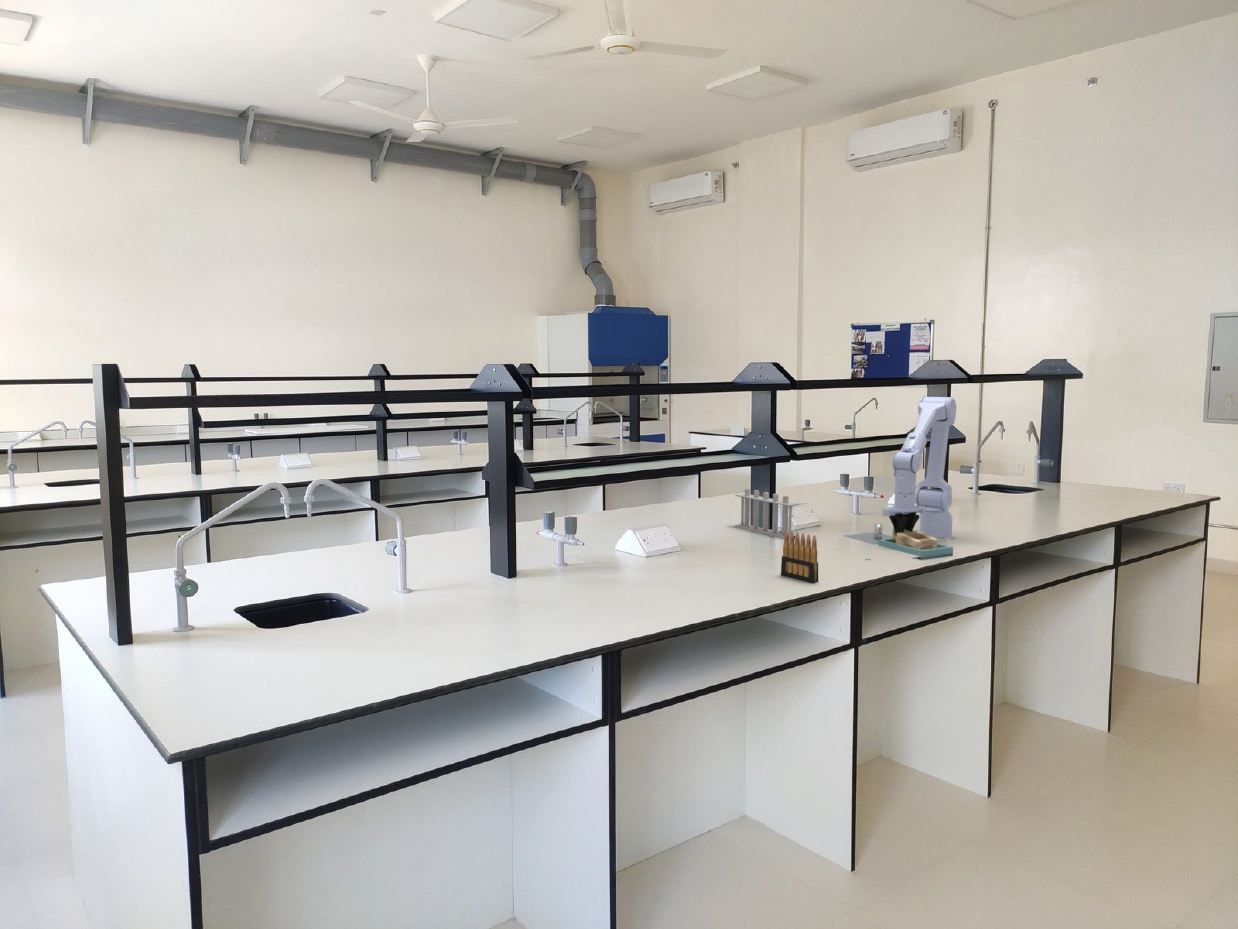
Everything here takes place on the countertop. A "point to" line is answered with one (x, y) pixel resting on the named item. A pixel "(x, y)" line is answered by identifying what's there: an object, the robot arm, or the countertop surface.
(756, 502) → the test tube rack
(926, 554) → the tray
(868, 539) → the board
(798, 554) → the ammunition clip
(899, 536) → the maple collar
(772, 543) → the countertop surface
